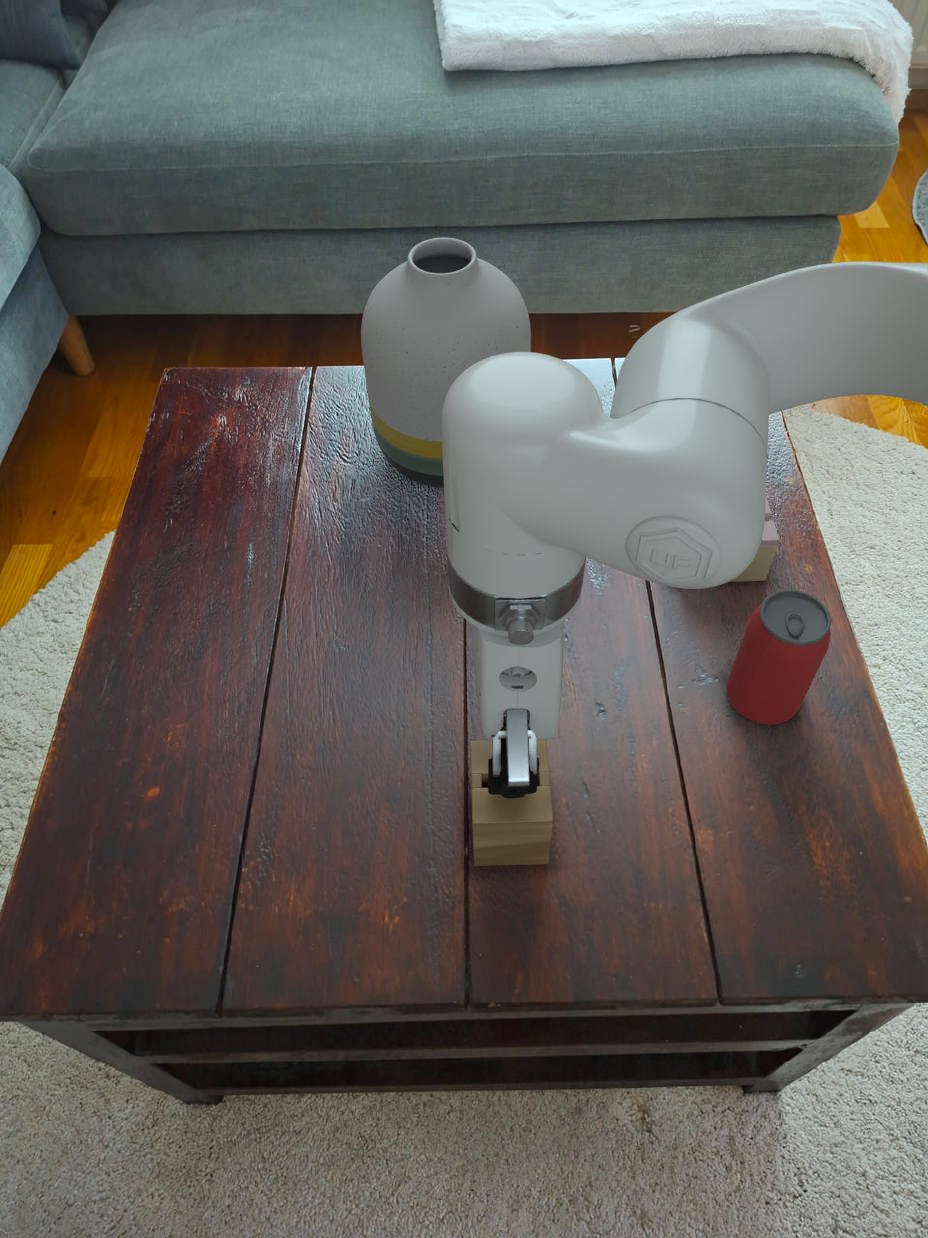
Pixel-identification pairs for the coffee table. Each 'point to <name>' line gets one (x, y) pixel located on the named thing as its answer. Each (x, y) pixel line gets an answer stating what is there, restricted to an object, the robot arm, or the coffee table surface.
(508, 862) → the knife block
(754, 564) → the cake slice
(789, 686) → the beer can
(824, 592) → the coffee table surface
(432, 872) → the coffee table surface
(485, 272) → the vase
